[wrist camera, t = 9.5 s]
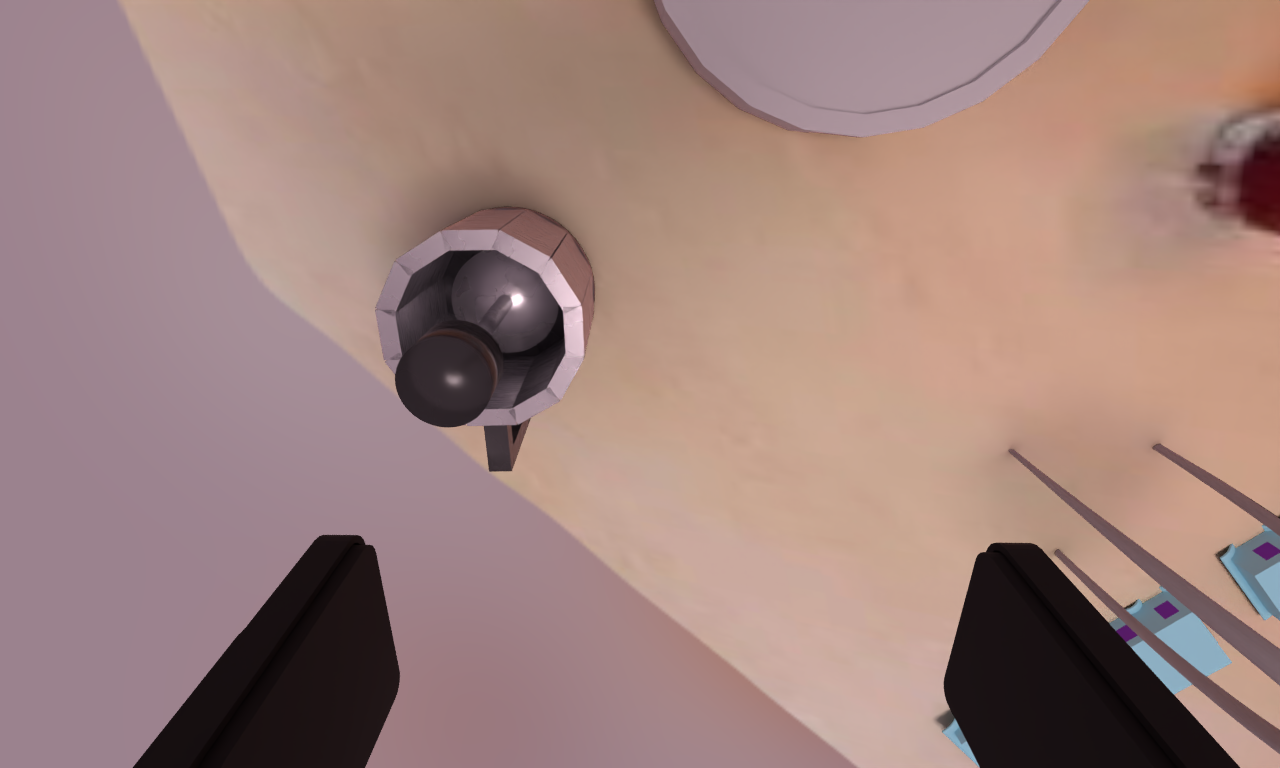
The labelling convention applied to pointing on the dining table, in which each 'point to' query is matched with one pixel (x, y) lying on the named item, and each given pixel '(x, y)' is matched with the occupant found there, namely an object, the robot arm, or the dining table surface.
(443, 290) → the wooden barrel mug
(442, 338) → the plunger
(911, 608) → the dining table surface
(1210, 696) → the juicer
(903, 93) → the ashtray
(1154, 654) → the light blue block row
